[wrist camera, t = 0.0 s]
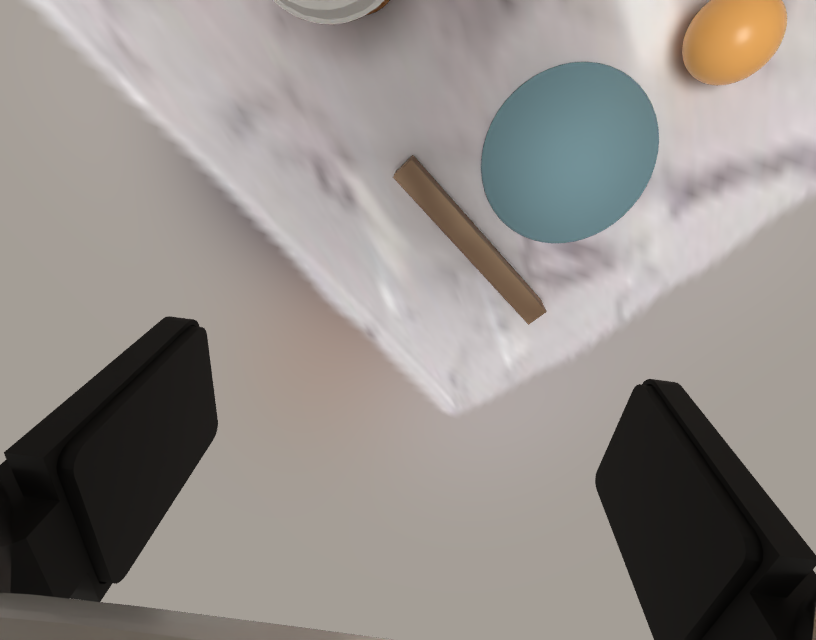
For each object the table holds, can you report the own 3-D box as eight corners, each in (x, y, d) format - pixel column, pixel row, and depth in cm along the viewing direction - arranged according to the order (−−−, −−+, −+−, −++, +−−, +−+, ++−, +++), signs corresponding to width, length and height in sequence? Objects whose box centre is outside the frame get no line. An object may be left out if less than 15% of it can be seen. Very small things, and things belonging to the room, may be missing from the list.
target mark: (594, 15, 32) (594, 14, 31) (690, 164, 36) (692, 165, 36) (446, 156, 37) (446, 156, 37) (546, 272, 41) (546, 273, 41)
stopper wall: (412, 154, 37) (411, 159, 35) (541, 299, 42) (546, 311, 40) (395, 171, 38) (392, 177, 35) (524, 312, 43) (528, 324, 41)
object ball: (729, -28, 30) (786, -50, 25) (765, 42, 32) (825, 34, 27) (653, 40, 32) (691, 32, 27) (691, 102, 34) (733, 105, 29)
